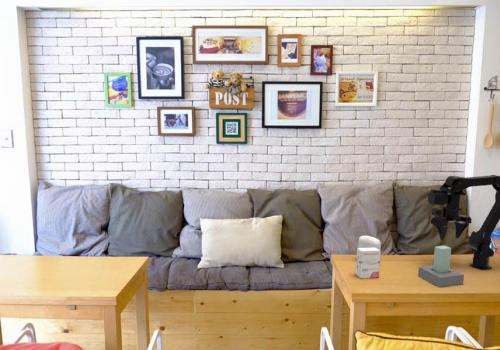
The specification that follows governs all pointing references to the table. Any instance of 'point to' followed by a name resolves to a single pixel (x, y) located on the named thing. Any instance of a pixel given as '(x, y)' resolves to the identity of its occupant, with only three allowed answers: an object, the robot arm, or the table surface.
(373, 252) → the ink box
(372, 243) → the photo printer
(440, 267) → the pale green block
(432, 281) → the grey square socket block
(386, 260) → the table surface
